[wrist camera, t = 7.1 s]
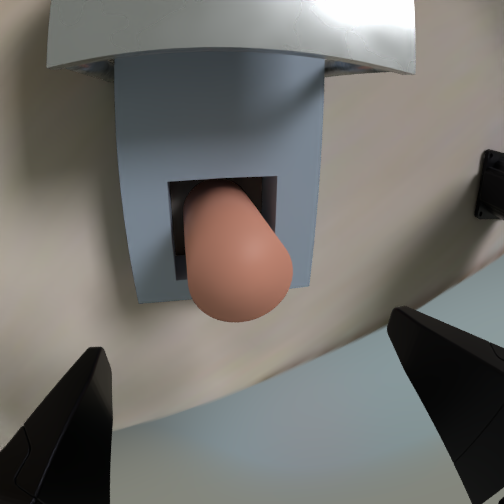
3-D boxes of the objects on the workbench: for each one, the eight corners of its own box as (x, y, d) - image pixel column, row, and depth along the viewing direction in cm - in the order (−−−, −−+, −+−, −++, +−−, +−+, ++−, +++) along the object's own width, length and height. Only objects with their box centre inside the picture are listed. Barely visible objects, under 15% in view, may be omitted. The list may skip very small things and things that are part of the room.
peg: (249, 176, 19) (295, 225, 12) (249, 238, 20) (289, 314, 13) (180, 181, 18) (182, 235, 11) (185, 244, 20) (193, 327, 13)
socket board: (302, -10, 14) (323, -26, 11) (293, 263, 22) (309, 286, 19) (128, -14, 12) (120, -33, 9) (142, 277, 20) (138, 303, 17)
